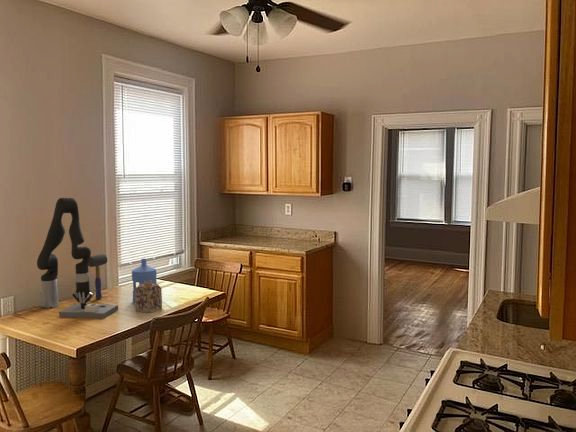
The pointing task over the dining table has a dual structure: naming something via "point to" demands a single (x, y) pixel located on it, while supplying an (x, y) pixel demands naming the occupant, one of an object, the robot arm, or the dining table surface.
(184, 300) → the dining table surface
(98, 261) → the rubber mallet
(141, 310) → the decorative jar
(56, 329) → the dining table surface
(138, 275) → the water jug
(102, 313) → the board
